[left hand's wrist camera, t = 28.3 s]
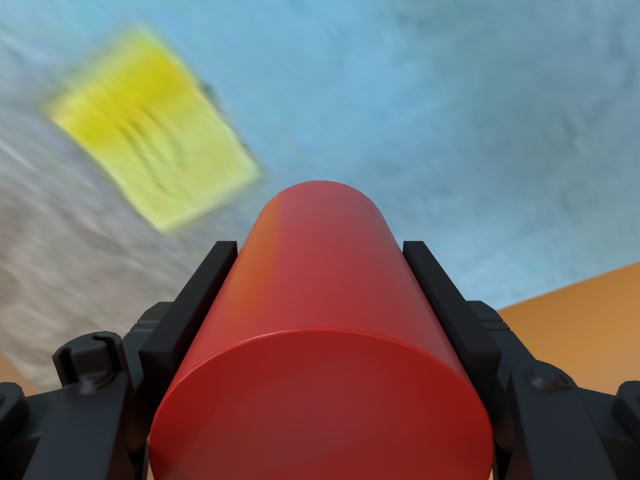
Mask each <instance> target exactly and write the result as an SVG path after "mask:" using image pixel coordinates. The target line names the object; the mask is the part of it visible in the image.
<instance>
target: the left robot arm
mask: <svg viewBox="0 0 640 480" xmlns="http://www.w3.org/2000/svg"><path fill="white" fill-rule="evenodd" d="M403 255H404V257H405V259H406V261H407V263H408V265H409V267H410V268H411V270H412V272H413V274H414V276H415V278H416V280H417V282H418V283H419V285H420V287H421V289H422V291H423V293H424V295H425V297H426V298H427V300H428V302H429V304H430V306H431V308H432V310H433V312H434V313H435V315H436V317H437V319H438V321H439V323H440V325H441V327H442V328H443V330H444V332H445V334H446V336H447V338H448V340H449V342H450V343H451V345H452V347H453V349H454V351H455V353H456V355H457V357H458V358H459V360H460V362H461V364H462V366H463V368H464V370H465V372H466V373H467V375H468V377H469V379H470V381H471V383H472V385H473V387H474V388H475V390H476V392H477V394H478V396H479V398H480V400H481V402H482V403H483V405H484V407H485V409H486V411H487V413H488V416H489V420H490V423H491V426H492V430H493V438H494V458H493V465H492V472H493V480H640V381H626V382H624V383H623V384H621V385H620V386H619V389H618V391H617V394H616V396H614V395H610V394H606V393H601V392H597V391H592V390H588V389H583V388H580V387H578V386H577V385H576V383H575V382H574V381H573V379H572V378H571V377H570V376H569V375H567V374H566V373H565V372H564V371H562V370H561V369H559V368H557V367H555V366H553V365H551V364H549V363H545V362H542V361H539V360H536V359H535V358H534V357H533V356H532V354H531V353H530V352H529V351H528V350H527V348H526V347H525V346H524V345H523V344H522V342H521V341H520V340H519V339H518V337H517V336H516V335H515V334H514V333H513V331H510V328H509V327H508V325H507V324H506V323H505V322H503V319H502V318H501V317H500V316H499V315H498V313H497V312H496V311H495V310H494V309H493V308H491V307H490V306H488V305H487V304H485V303H484V302H482V301H466V300H465V299H464V298H463V296H462V295H461V293H460V292H459V291H458V289H457V288H456V287H455V285H454V284H453V282H452V281H451V280H450V278H449V277H448V275H447V274H446V273H445V271H444V270H443V268H442V267H441V266H440V264H439V263H438V262H437V260H436V259H435V257H434V256H433V255H432V253H431V252H430V250H429V249H428V248H427V246H426V245H425V243H424V242H423V241H404V243H403ZM237 256H238V251H237V241H217V242H216V244H215V245H214V247H213V248H212V249H211V251H210V252H209V254H208V255H207V256H206V258H205V259H204V260H203V262H202V263H201V265H200V266H199V267H198V269H197V270H196V272H195V273H194V274H193V276H192V277H191V279H190V280H189V281H188V283H187V284H186V285H185V287H184V288H183V290H182V291H181V292H180V294H179V295H178V297H177V298H176V299H175V301H174V302H159V303H157V304H156V305H154V306H152V307H151V308H149V309H148V310H146V311H145V313H144V314H143V315H142V316H141V317H140V319H139V320H138V321H137V323H136V324H135V325H134V326H133V327H132V328H131V330H130V332H128V333H127V334H126V336H125V337H124V338H123V339H122V340H121V337H120V336H119V335H117V334H116V333H113V332H108V331H103V332H94V333H90V334H86V335H82V336H80V337H78V338H75V339H73V340H71V341H69V342H67V343H66V344H65V345H63V346H62V347H60V348H59V349H58V350H57V351H56V352H55V354H54V355H53V356H52V359H53V362H54V364H55V367H56V370H57V373H58V376H59V378H60V381H61V384H62V389H59V390H55V391H50V392H46V393H41V394H37V395H33V396H28V397H25V395H24V393H23V390H22V388H21V387H20V386H19V385H18V384H16V383H11V382H2V383H0V480H147V473H148V464H149V444H148V440H147V437H148V435H149V433H150V429H151V426H152V423H153V419H154V416H155V413H156V411H157V409H158V407H159V405H160V403H161V401H162V400H163V398H164V396H165V394H166V392H167V390H168V388H169V386H170V384H171V382H172V380H173V379H174V377H175V375H176V373H177V371H178V369H179V367H180V365H181V363H182V361H183V359H184V358H185V356H186V354H187V352H188V350H189V348H190V346H191V344H192V342H193V340H194V338H195V337H196V335H197V333H198V331H199V329H200V327H201V325H202V323H203V321H204V319H205V317H206V316H207V314H208V312H209V310H210V308H211V306H212V304H213V302H214V300H215V298H216V296H217V295H218V293H219V291H220V289H221V287H222V285H223V283H224V281H225V279H226V277H227V275H228V274H229V272H230V270H231V268H232V266H233V264H234V262H235V260H236V258H237Z"/></svg>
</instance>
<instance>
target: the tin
mask: <svg viewBox="0 0 640 480" xmlns="http://www.w3.org/2000/svg"><path fill="white" fill-rule="evenodd" d="M493 458H494V438H493V430H492V426H491V423H490V420H489V416H488V413H487V411H486V409H485V407H484V405H483V403H482V402H481V400H480V398H479V396H478V394H477V392H476V390H475V388H474V387H473V385H472V383H471V381H470V379H469V377H468V375H467V373H466V372H465V370H464V368H463V366H462V364H461V362H460V360H459V358H458V357H457V355H456V353H455V351H454V349H453V347H452V345H451V343H450V342H449V340H448V338H447V336H446V334H445V332H444V330H443V328H442V327H441V325H440V323H439V321H438V319H437V317H436V315H435V313H434V312H433V310H432V308H431V306H430V304H429V302H428V300H427V298H426V297H425V295H424V293H423V291H422V289H421V287H420V285H419V283H418V282H417V280H416V278H415V276H414V274H413V272H412V270H411V268H410V267H409V265H408V263H407V261H406V259H405V257H404V255H403V253H402V252H401V250H400V248H399V246H398V244H397V242H396V240H395V238H394V237H393V235H392V233H391V231H390V229H389V227H388V225H387V223H386V221H385V220H384V218H383V216H382V214H381V212H380V211H379V209H378V208H377V207H376V205H375V204H374V203H373V202H372V201H371V200H370V199H369V198H368V197H366V196H365V195H364V194H362V193H361V192H359V191H357V190H356V189H354V188H352V187H349V186H347V185H345V184H341V183H337V182H332V181H310V182H304V183H300V184H297V185H294V186H292V187H289V188H287V189H285V190H284V191H282V192H280V193H279V194H278V195H276V196H275V197H274V198H272V199H271V200H270V201H269V202H268V204H267V205H266V206H265V207H264V208H263V210H262V211H261V213H260V214H259V216H258V218H257V220H256V222H255V224H254V226H253V228H252V230H251V232H250V233H249V235H248V237H247V239H246V241H245V243H244V245H243V247H242V249H241V251H240V253H239V254H238V256H237V258H236V260H235V262H234V264H233V266H232V268H231V270H230V272H229V274H228V275H227V277H226V279H225V281H224V283H223V285H222V287H221V289H220V291H219V293H218V295H217V296H216V298H215V300H214V302H213V304H212V306H211V308H210V310H209V312H208V314H207V316H206V317H205V319H204V321H203V323H202V325H201V327H200V329H199V331H198V333H197V335H196V337H195V338H194V340H193V342H192V344H191V346H190V348H189V350H188V352H187V354H186V356H185V358H184V359H183V361H182V363H181V365H180V367H179V369H178V371H177V373H176V375H175V377H174V379H173V380H172V382H171V384H170V386H169V388H168V390H167V392H166V394H165V396H164V398H163V400H162V401H161V403H160V405H159V407H158V409H157V411H156V413H155V416H154V419H153V423H152V426H151V429H150V438H149V460H150V466H151V469H152V473H153V477H154V480H488V479H489V476H490V473H491V469H492V465H493Z"/></svg>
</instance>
